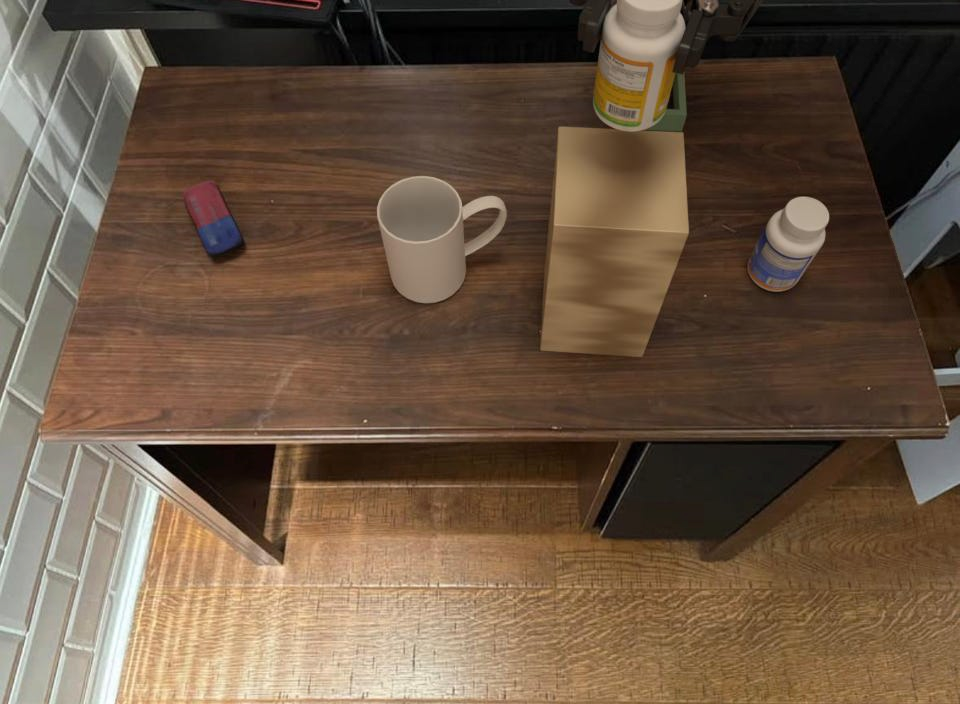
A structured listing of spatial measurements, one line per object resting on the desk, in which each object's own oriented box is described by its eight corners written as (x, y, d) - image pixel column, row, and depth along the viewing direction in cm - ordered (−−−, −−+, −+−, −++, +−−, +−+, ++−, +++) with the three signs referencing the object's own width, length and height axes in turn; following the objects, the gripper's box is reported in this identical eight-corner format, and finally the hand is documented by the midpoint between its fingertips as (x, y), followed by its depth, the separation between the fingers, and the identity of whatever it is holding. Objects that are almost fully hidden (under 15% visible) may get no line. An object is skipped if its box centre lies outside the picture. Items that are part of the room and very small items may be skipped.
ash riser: (640, 272, 77) (683, 132, 59) (642, 357, 72) (689, 232, 55) (544, 266, 78) (558, 125, 60) (539, 350, 73) (553, 225, 55)
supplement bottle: (647, 72, 56) (673, -48, 47) (678, 122, 54) (711, 5, 45) (580, 90, 55) (594, -29, 47) (609, 142, 53) (629, 26, 44)
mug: (397, 311, 75) (383, 250, 66) (385, 249, 79) (370, 183, 70) (513, 288, 76) (516, 225, 67) (496, 228, 80) (496, 160, 71)
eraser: (182, 196, 83) (175, 185, 82) (216, 182, 84) (211, 171, 82) (213, 267, 78) (207, 257, 77) (250, 251, 79) (244, 241, 77)
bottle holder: (679, 82, 90) (684, 65, 87) (681, 131, 86) (687, 114, 84) (612, 79, 90) (615, 62, 88) (612, 128, 87) (615, 111, 84)
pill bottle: (766, 241, 79) (799, 179, 70) (809, 271, 77) (849, 211, 68) (735, 271, 77) (765, 212, 68) (778, 303, 75) (815, 246, 66)
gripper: (610, -174, 52) (529, -27, 45) (817, -136, 50) (765, 27, 43) (598, -71, 59) (526, 71, 52) (779, -33, 56) (730, 123, 49)
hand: (634, 51), depth 47 cm, fingers closed on supplement bottle, 5 cm apart
